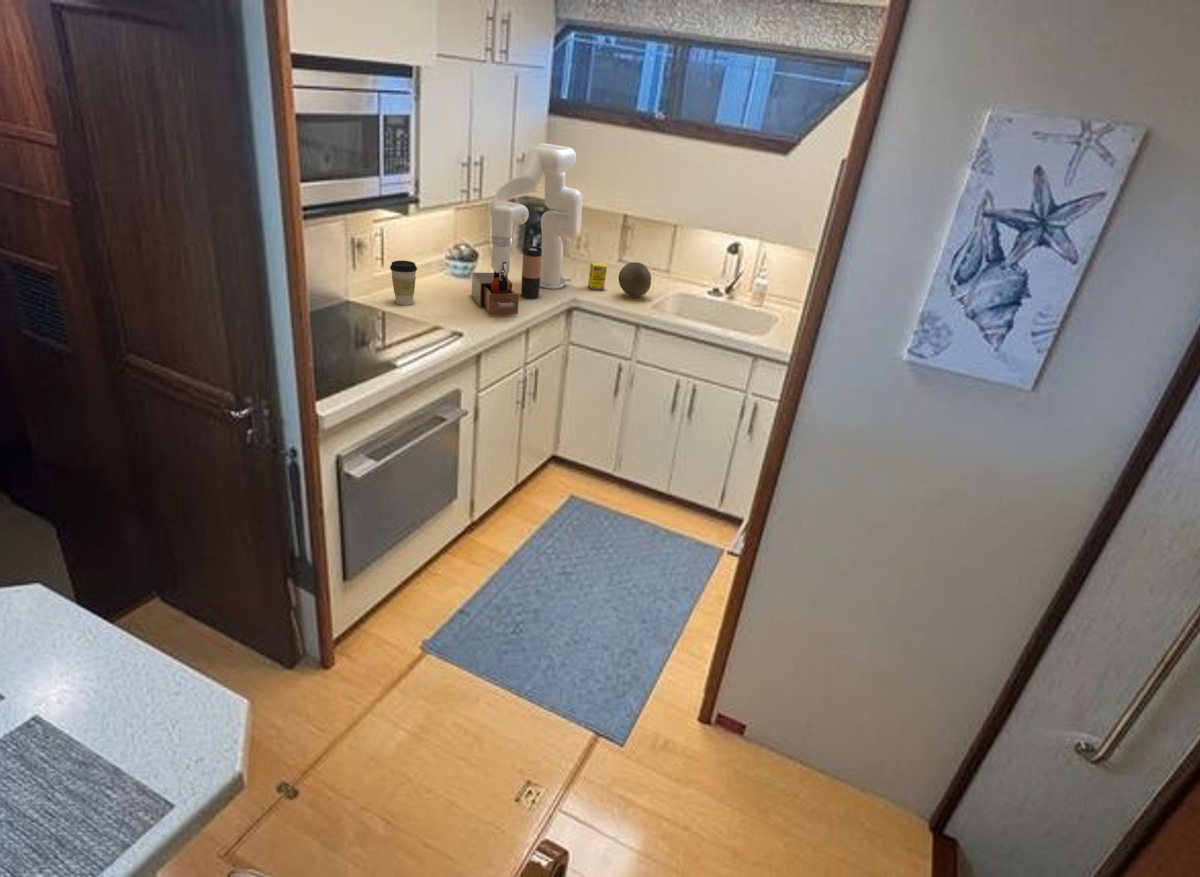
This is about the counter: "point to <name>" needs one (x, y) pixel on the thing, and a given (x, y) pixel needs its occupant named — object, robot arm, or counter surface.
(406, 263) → the coffee cup
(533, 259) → the travel mug
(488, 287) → the drawer
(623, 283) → the dark grey ball
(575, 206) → the robot arm
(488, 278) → the cabinet
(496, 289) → the fruit
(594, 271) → the supplement box
